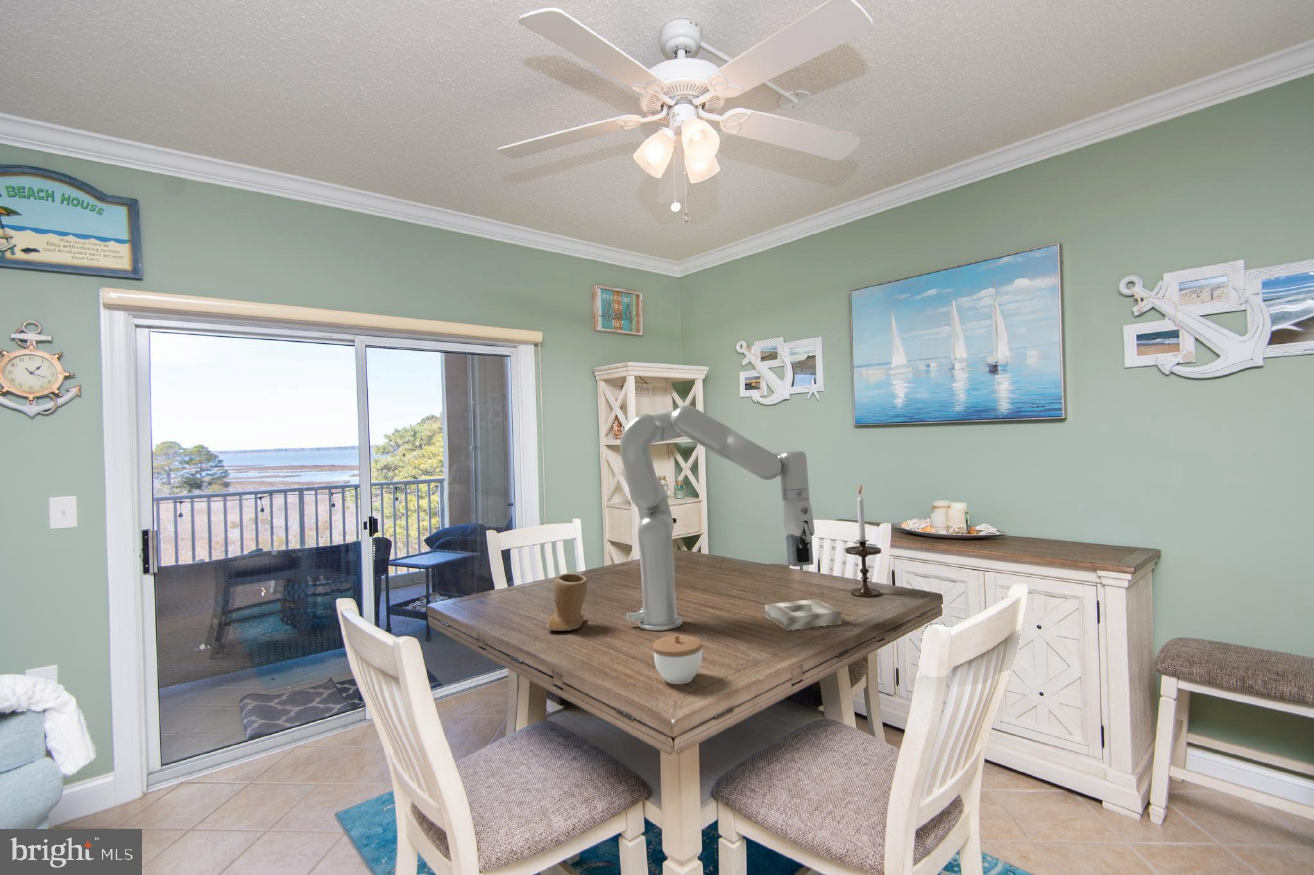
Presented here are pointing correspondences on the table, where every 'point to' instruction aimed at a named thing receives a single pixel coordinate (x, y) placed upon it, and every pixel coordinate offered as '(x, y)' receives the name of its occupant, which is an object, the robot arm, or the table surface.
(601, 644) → the table surface
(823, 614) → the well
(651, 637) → the table surface
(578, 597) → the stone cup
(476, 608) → the table surface
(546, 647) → the table surface
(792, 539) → the upright grey box
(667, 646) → the lidded jar
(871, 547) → the candlestick
